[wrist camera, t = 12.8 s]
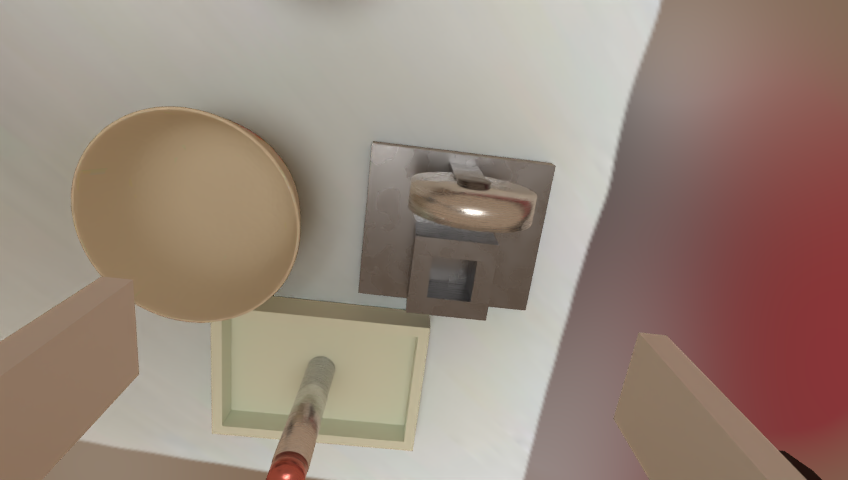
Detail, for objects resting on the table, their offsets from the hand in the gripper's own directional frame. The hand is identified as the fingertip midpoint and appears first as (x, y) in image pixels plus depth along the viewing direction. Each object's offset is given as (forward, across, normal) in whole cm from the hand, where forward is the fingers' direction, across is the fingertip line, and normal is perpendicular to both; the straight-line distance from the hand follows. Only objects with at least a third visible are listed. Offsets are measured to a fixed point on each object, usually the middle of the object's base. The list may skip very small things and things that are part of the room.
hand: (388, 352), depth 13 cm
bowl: (+33, -15, -5) cm, 37 cm away
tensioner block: (+33, +5, -6) cm, 34 cm away
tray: (+33, -6, -22) cm, 40 cm away
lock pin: (+32, -6, -22) cm, 39 cm away
